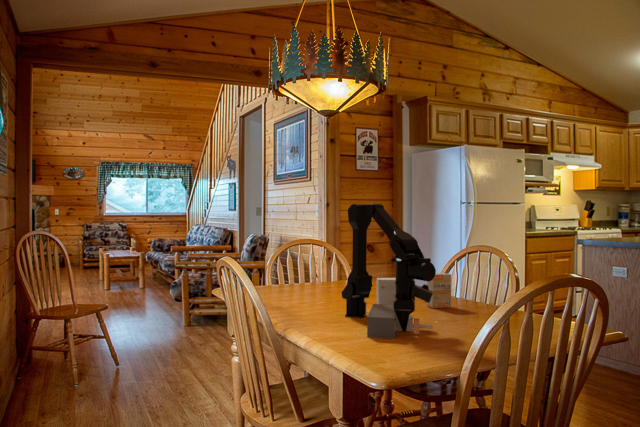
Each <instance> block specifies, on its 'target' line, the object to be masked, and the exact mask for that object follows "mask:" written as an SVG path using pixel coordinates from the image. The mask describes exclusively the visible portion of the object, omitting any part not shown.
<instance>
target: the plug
mask: <svg viewBox="0 0 640 427" xmlns="http://www.w3.org/2000/svg"><path fill="white" fill-rule="evenodd" d="M433 326H434V325H433V324H423V323H422V324H421V323H419V329H425V330H428V329H429V330H434V329H433ZM396 332H403V331H402V328H401V326H400V323H399V321H398V318H397V317H396ZM405 332H414V315H411V314H410V315H409V319H408V324H407V329H406V331H405Z"/></svg>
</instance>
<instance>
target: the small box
mask: <svg viewBox="0 0 640 427" xmlns="http://www.w3.org/2000/svg"><path fill="white" fill-rule="evenodd" d="M395 281H396V277H376V304H387V305H394V300H395V299H396V298H395V294H396V285H395Z"/></svg>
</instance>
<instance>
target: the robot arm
mask: <svg viewBox="0 0 640 427" xmlns="http://www.w3.org/2000/svg"><path fill="white" fill-rule="evenodd" d="M347 219H348V224H349V225H350V227H351V229H352V255H351V256H352V258H351V259H352V260H351V262H352V263H351V264H352V267H351V271H350V272H349V275H348V276H347V282H346V286H345V287H344V288H343V289H342V291H341V296H342V297H341V298H342V299H344V300H345V302H346V304H345V305H346V306H345V308H346V311H345V316H344V317H348V318H351V317H352V318H364V317H365V316H366V315H367V302H366V300H365V299H369V298H370V294H371V291H372V287H374V286H373V276H372V274H369V272H368V270H367V259H368V258H367V256H368V252H367V250H368V246H367V245H368V244H367V243H368V241H367V240H368V237H367V236H368V228H369V226H371V223H372V220H374V222H375V223H376V224H377V225H378V227H379V228H380V229H381V230H382V232H383V233H384V234H385V236H386V237H387V238H388V240H389V241H388V244H389V247H390V250H392V253H393V254H394V257H392V258H391V260H390V261H391V262H392V263H395V278H396V281H395V285H396V294H395V298H396V299H395V300H394V311H395V313H396V316H397V318H398V321H399V323H400V326H401V328H402V331H401V332H407V331H406V329H407V324H408V319H409V315H410V316H411V314H412V313H414V312H415V307H416V306H415V304H416V302H415V301H416V298H417V299H420V300H421V301H424V302H425V303H427V302H428V303H429V302H430V300H431V297H432V295H433V292H432V291H431V290H429V287H428V285H427V284H426V283H424V284H422V285H417V284H416V281H415V280H417V281H423V282H427V281H431V280H433V278H434V277H435V273H436V272H437V270H436V268H435V265H434V263H433V262H431V258H429V257H425V256H424V253H423V252H422V250H421V248H420V247H419V243H418V241H417V239H416V238H415V237H414V236H413V235H411V234H410V233H408V232H406V231H404V230H403V229H402V228H401V227H400V226H399V225H398V224H397V222H395V220H394V219H393V218H392V216H391V215H390V213H388V212H387V211H386V209H385V206H384V205H383V204H382V203H370V204H367V203H363V204H362V203H353V204H351V205H350V206H349V207H348V208H347Z"/></svg>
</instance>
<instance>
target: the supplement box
mask: <svg viewBox="0 0 640 427" xmlns="http://www.w3.org/2000/svg"><path fill="white" fill-rule="evenodd" d="M426 285H428V287H429V290H431V291H432V292H433V295H432V297H431V300H430V302H429V303H428V302H426V307H428V308H430V309H442V308H443V309H445V308H450V309H451V308H452V274H451V273H446V272H443V273H441V272H440V273H439V272H438V273H435V277H434V278H433V280H431V281H426Z"/></svg>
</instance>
